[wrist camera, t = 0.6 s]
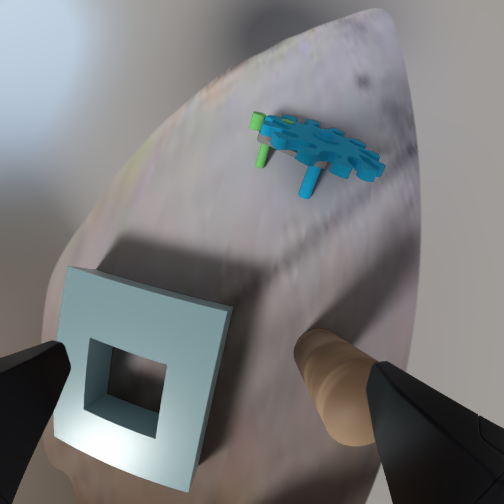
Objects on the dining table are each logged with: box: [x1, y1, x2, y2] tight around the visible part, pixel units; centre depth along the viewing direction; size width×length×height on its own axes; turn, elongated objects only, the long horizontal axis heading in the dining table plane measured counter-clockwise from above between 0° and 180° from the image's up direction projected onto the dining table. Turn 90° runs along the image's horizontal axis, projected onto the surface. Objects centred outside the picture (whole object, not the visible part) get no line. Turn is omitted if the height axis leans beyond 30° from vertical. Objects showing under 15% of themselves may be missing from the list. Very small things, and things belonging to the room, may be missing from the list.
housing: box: [54, 266, 233, 492], centre depth 22 cm, size 16×13×4 cm
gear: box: [249, 112, 386, 199], centre depth 23 cm, size 11×6×10 cm
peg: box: [294, 328, 378, 446], centre depth 17 cm, size 4×4×12 cm
